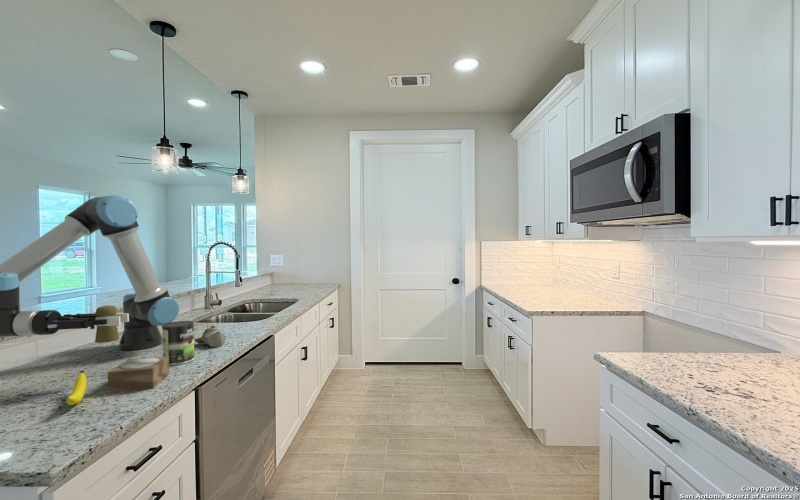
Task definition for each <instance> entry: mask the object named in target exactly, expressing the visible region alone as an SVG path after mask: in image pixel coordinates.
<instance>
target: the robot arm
mask: <svg viewBox="0 0 800 500" xmlns="http://www.w3.org/2000/svg"><path fill="white" fill-rule="evenodd" d="M138 217H139V210H138V207H137V206H136V204H135V203H134V202H133V201H132V200H131V199H129V198H127V197H124V196H121V195H112V194H111V195H106V196H99V197H93V198H89V199H88V200H86V201H85V202H83V203H82V204H80V205H79V206H78V207H76V208H75V209H74V210H73V211H71V212H70V213H68V214H67V215H65V216H64V221H62V222H61V223H59V224H58V225H57V226H54V227H53V228H51V229H50V230H49V231H48V232H46V233H45V234H43V235H42V236H40V237H39V238H37V239H36V240H34V241H32V242H31V243H30V244H28V245H27V246H25V247H24V248H23V249H20V251H17V253H14V255H12V256H11V257H9V258H8V259H7V260H5V261H3V262H2V263H1V264H0V338H3V337H18V336H19V337H22V336H26V337H27V338H31V337H32V336H45V335H46V336H47V335H48V336H50V335H53V334H56V333H57V332H58V331H59V330H76V329H78V330H79V329H88V328H90V330H94V329H95V327H97V326H115V325H117V326H121V323H123V332H122V335H121V337H120V339H119V343H118V345H119V346H118V348H119V350H121V351H139V350H145V349H150V348H153V347H157V346H159V345H161V344H163V335H162V334H161V331H160V329H159V326H160V327H162V325H164V324H167V323H171V322H175V320H176V319H177V317H178V314H179V313H180V304H179V302H178V300H176V299H175V298H174V297H171V296H170V294H169V291H168V289H167V288H166V287H164V286H162V285H161V284H160V282H159V280H158V277H157V275H156V273H155V271H154V269H153V266H152V264H151V262H150V260H149V257H148V256H147V252H146V250H145V248H144V246H143V243H142V242H141V239H140V237H139V235H138V232H137V231H138V229H139V228H140V226H139V224H138V221H137V220H138ZM96 231H100V233H101V235H102V237H105V238H107V239H108V240H110V242H111V244H112V247H113V249H114V251H115V253H116V255H117V257H118V258H119V259H118V260H119V261H120V263H121V265H122V267H123V269H124V272H125V273H126V276H127V278H128V280H129V282H130V284H131V286H132V288H133V290H134V293H127V294H125V295H124V296H123V299H122V307H123V308H122V310H123V311H122V312H123V313H116V314H115V317H98V316H97V315H96V312H95V313H76V314H72V313H69V314H63V315H62V314H61V313H60V312H59V311H58V310H56V309H49V310H41V309H40V310H39V309H36V310H22V311H21V310H20V308H21V306H20V284H21V282H22V281H24V280H25V279H26V278H27V277H29V276H30V275H32V274H33V273H34V272H36V271H37V270H39V269H40V268H41V267H43V266H44V265H46V264H47V263H48V262H50V261H51V260H52V259H54V258H55V257H56V256H58V255H60V254H61V253H62V252H64V251H65V250H66V249H67V248H69V247H70V246H71V245H73V244H74V243H76V242H77V241H79V240H80V239H81V238H82V237H84V236H88V237H89V236H90V235H92V234H93V233H95V232H96Z"/></svg>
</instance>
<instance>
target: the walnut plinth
mask: <svg viewBox="0 0 800 500" xmlns="http://www.w3.org/2000/svg"><path fill="white" fill-rule="evenodd" d="M170 374H171V372H170V365H169V357H163V356H159V357H158V356H157V357H156V356H154V357H142V358H141V357H140V358H128V359H126V360H125V361H123V362H121V363H120V364H119V365H117V366H116V367H114V368H112V369H111V370H109V371H107V392H108V393H113V392H124V391H137V390H149V389H154V388H156V386H158V384H160V383H161V382H162V381H163V380H165V379H166V378H167V377H168V376H170Z"/></svg>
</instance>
